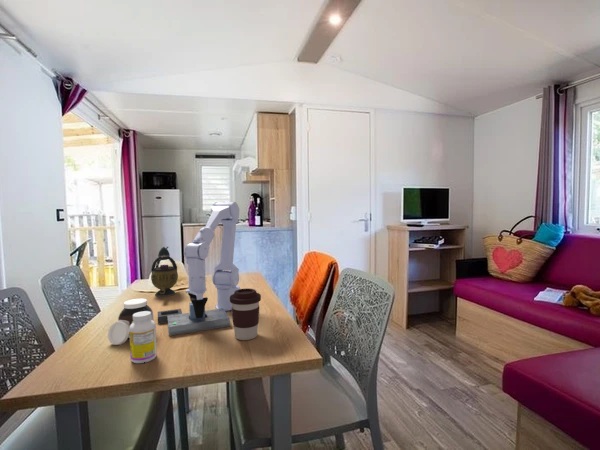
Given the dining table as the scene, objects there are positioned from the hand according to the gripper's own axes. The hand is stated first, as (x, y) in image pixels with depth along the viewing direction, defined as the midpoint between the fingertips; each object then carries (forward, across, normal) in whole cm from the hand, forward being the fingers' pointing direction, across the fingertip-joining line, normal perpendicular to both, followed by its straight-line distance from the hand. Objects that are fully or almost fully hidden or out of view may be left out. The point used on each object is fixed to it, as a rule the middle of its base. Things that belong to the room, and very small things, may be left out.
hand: (198, 314), depth 116 cm
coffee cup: (+4, +17, +13) cm, 22 cm away
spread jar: (+4, +3, -21) cm, 22 cm away
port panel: (+4, 0, 0) cm, 4 cm away
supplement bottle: (+4, +20, -17) cm, 27 cm away
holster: (+4, -11, -9) cm, 15 cm away
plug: (+4, 0, 0) cm, 4 cm away
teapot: (+4, -46, -10) cm, 47 cm away
